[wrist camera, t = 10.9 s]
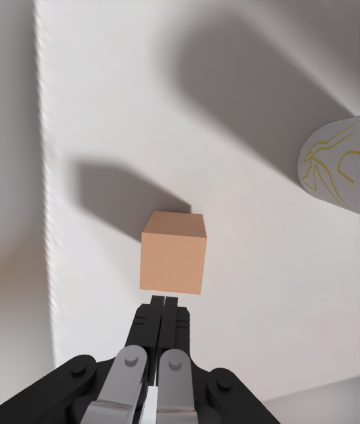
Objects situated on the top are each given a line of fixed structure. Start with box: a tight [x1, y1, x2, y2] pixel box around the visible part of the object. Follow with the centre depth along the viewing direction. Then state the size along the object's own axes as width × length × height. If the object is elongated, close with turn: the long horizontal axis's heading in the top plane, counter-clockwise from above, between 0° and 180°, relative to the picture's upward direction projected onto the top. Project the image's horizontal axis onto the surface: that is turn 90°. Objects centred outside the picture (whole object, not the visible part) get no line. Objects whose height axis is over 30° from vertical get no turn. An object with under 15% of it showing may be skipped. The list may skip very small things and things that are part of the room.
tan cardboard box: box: [140, 211, 207, 294], centre depth 21 cm, size 5×5×7 cm
